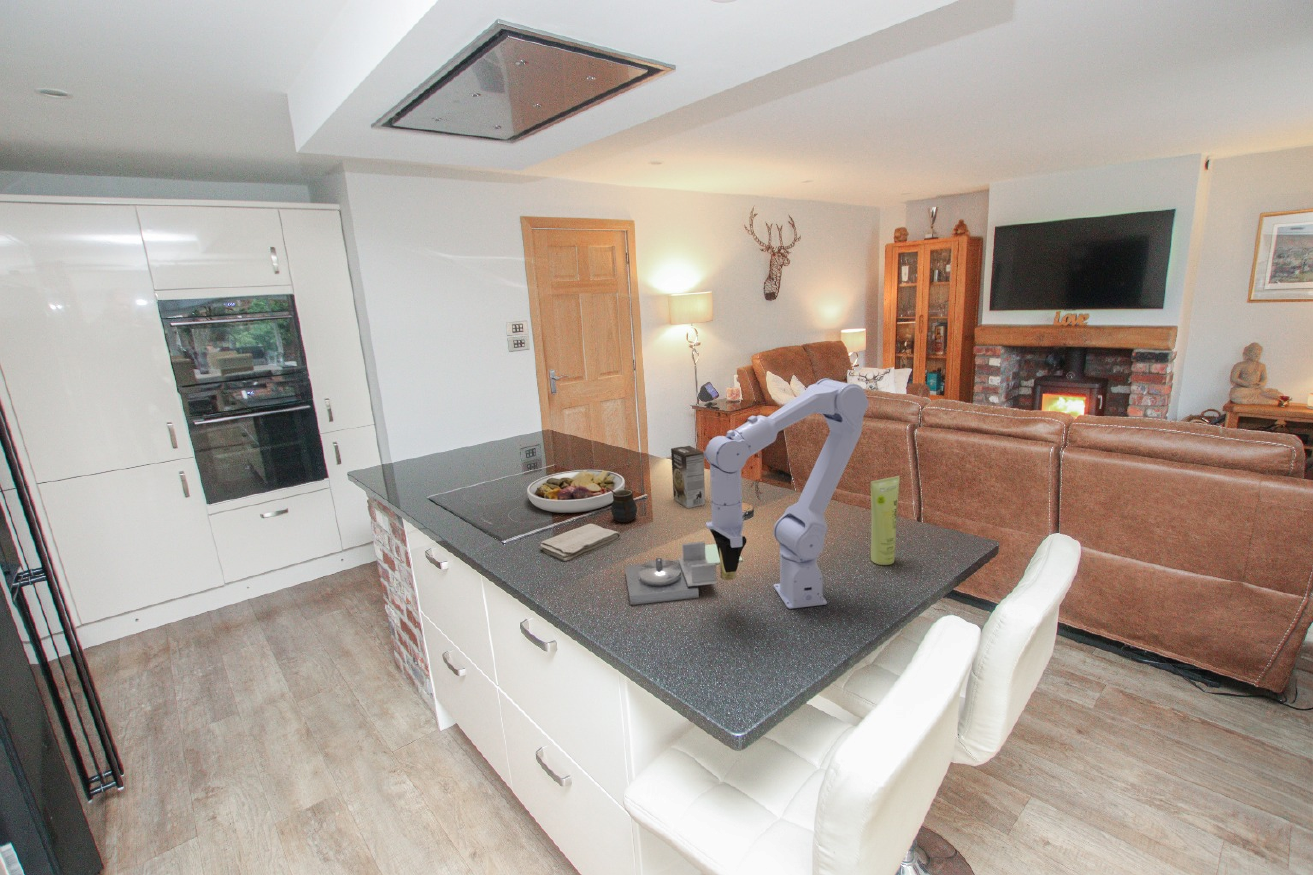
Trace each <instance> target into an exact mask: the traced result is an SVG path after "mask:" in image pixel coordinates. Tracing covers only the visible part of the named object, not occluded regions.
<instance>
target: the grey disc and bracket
mask: <svg viewBox="0 0 1313 875" xmlns="http://www.w3.org/2000/svg"><path fill="white" fill-rule="evenodd" d="M705 545H706V542H705V541H704V540H703V541H695V542H694V541H692V542H684V543H683V542H682V544H681V546H682V548H681V549H682V557H678V561H679V564H680V565H679V564H678V563H676V562H673V561H674V560H669V559H663V558H661V557H657V558H655V559H654V560H651V561H646V562H645V563H642V564H643V565H641V566H640V567H639V579H640V580H641V581H642V582H643V583H645V584H649V585H655V586H660V585H668V584H671V583H674V582H676V581H677V580H678V579H679V578H680V577H681V569H682V572H683V574H684V577H685V580H686V583H687V585H688V587H689V586H697V587H698V586H705V585H715V584H716V585H717V564H715V563H708V562H707V560H706V556H705ZM680 566H681V568H680Z"/></svg>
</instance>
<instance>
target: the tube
mask: <svg viewBox="0 0 1313 875" xmlns="http://www.w3.org/2000/svg"><path fill="white" fill-rule="evenodd" d="M900 479H901V478H900V475H896V476H892V477H887V478H882V479H881V478H880V479H877V480H872V481H870V504H871V506H870V507H871V509H870V510H871V514H870V515H871V523H870V524H871V528H870V529H871V534H870V535H871V537H870V538H871V540H870V541H871V542H870V560H871V561H872V563H874V564H876V565H879V566H880V565H881V566H889V565H892V564H894V563H895V554H896V536H897V535H896V534H897V517H898V504H899V491H900V490H899V489H900Z"/></svg>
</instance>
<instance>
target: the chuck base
mask: <svg viewBox="0 0 1313 875" xmlns="http://www.w3.org/2000/svg"><path fill="white" fill-rule="evenodd" d="M672 561H673V562H676V563H678V564H679V561H678V560H672ZM643 564H644V563H637V564H632V565H631V564H629V565H625V566H624V568H625V569H624V570H625V578H626V584H627V585H626V586H627V590H628V597H629V604H630V606H637V605H643V604H644V605H645V604H652V603H653V604H654V603H660V602H661V603H663V602H671V601H678V600H680V601H681V600H689V599H699V593H700V592H699V587H698V586H689V587H688V585H687V583H686V580H685V577H684V574H683V572H682V569H681V577H680V578H679V579H678V580H677V581H676V582H674V583H671V584H668V585H660V586H655V585H649V584H645V583H643V582H642V581H641V580H640V579H639V567H640V566H641V565H643ZM679 565H680V564H679ZM680 568H681V566H680Z"/></svg>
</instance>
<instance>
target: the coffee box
mask: <svg viewBox="0 0 1313 875" xmlns="http://www.w3.org/2000/svg"><path fill="white" fill-rule="evenodd" d="M670 452H671V473H672V474H671V475H672V491H673V493H672V494H673V500H674V501H675V502H677V503H678V504H680V505H681V506H683V507H685V508H686V509H691V508H695V507H700V506H705V505H706V489H705V486H706V484H705V456H704V451H702V450H700V449H697V448H695V447H693V446H690V445H686V446H685V445H684V446H677V447H672V448H670Z"/></svg>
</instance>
